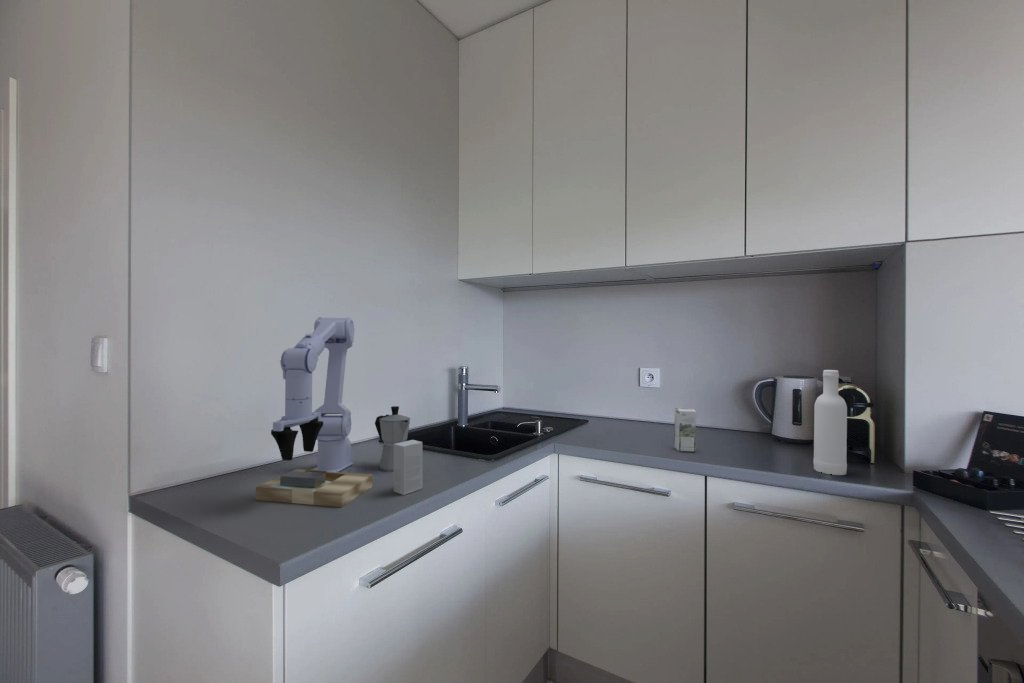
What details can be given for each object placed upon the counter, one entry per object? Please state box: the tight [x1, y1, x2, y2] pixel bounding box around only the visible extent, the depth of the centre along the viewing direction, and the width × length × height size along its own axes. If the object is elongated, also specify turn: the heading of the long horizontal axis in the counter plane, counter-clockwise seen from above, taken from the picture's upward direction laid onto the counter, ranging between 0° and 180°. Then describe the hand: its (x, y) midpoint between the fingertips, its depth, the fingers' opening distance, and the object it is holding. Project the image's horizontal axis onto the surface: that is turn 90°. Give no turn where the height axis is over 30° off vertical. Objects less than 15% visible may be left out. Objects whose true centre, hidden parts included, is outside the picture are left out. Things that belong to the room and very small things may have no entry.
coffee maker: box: [374, 405, 411, 472], centre depth 126 cm, size 15×9×18 cm, turn 56°
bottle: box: [812, 369, 848, 476], centre depth 125 cm, size 8×8×30 cm
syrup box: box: [673, 407, 697, 453], centre depth 148 cm, size 6×6×14 cm
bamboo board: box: [255, 468, 374, 508], centre depth 103 cm, size 14×22×3 cm, turn 80°
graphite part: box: [279, 470, 326, 488], centre depth 100 cm, size 4×9×2 cm, turn 81°
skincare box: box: [393, 439, 424, 496], centre depth 106 cm, size 6×4×12 cm
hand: (298, 455), depth 101 cm, fingers open, 7 cm apart
